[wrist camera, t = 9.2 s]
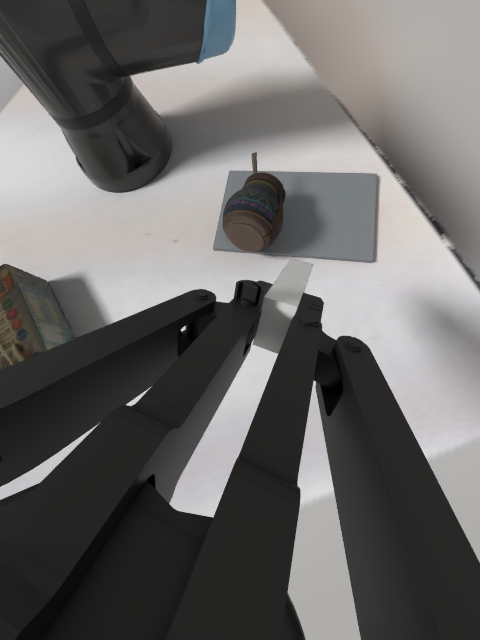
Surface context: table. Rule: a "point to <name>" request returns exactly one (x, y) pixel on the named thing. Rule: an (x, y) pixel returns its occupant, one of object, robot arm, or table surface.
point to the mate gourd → (255, 212)
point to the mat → (317, 215)
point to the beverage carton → (28, 317)
